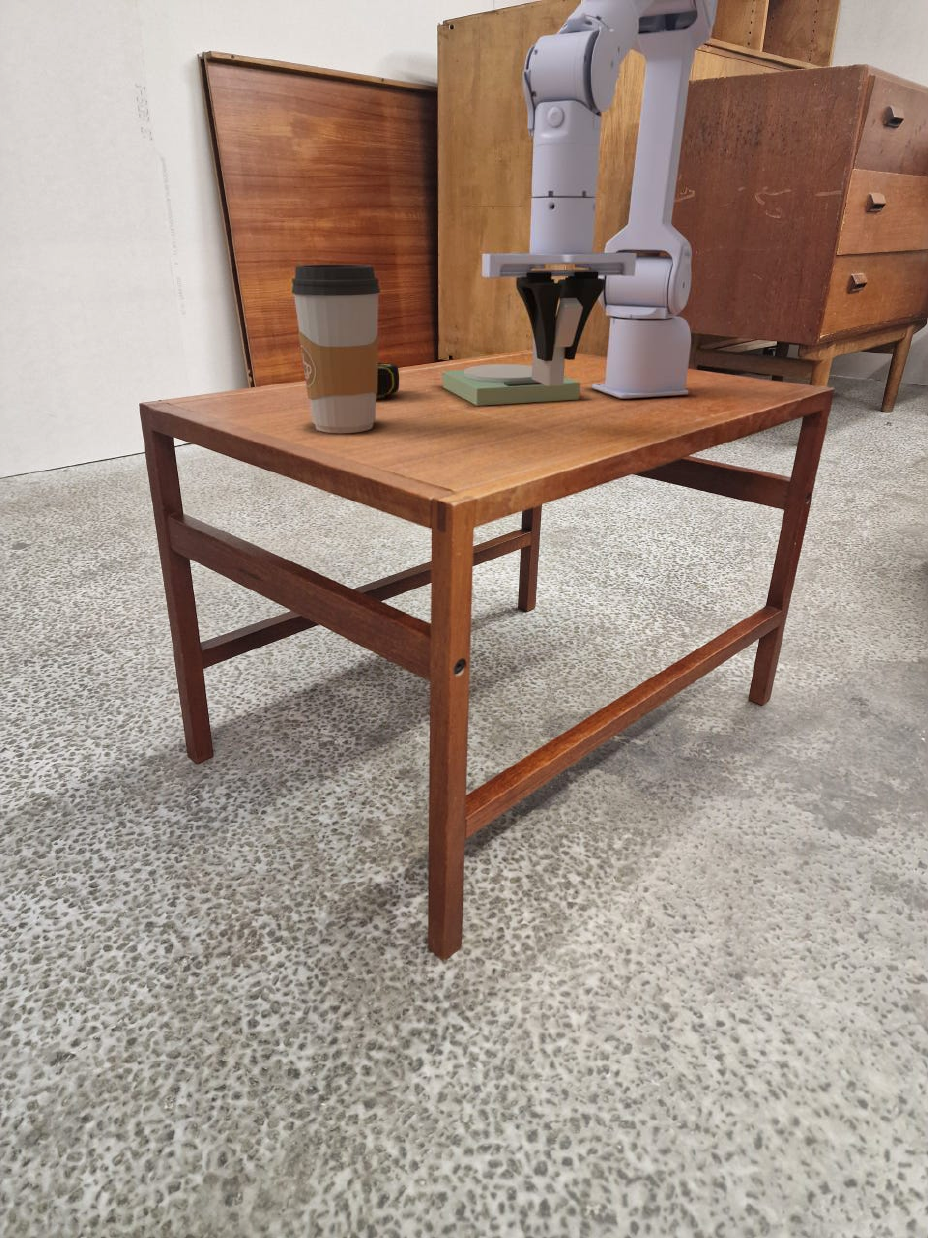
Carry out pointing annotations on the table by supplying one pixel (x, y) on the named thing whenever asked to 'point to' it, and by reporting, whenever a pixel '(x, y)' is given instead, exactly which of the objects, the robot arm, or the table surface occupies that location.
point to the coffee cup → (339, 343)
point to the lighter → (558, 344)
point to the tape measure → (387, 379)
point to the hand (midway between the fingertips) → (555, 358)
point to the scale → (505, 385)
